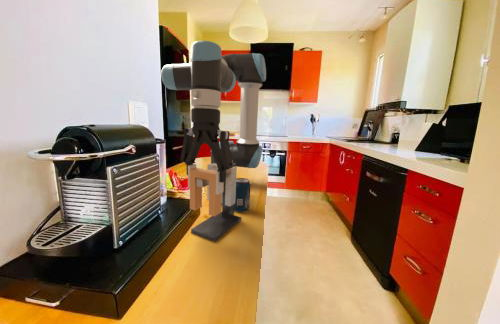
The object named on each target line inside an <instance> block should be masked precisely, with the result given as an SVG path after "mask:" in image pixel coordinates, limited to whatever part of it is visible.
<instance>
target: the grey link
mask: <svg viewBox="0 0 500 324" xmlns="http://www.w3.org/2000/svg"><path fill="white" fill-rule="evenodd" d="M206 169H208V170H213V171H217V170H218V167H217V164H215V163H212V164H211V163H209V164H207V168H206ZM237 172H238V171H237V167H233V168H230V169H227V170H226V184H225V205H227V206H232V205H233V204H235V198H236V179H237ZM206 188H207V189H206V196H207V197H206V198H207V199H206V200H207V201H208V202H209V185H207V186H206Z"/></svg>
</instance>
